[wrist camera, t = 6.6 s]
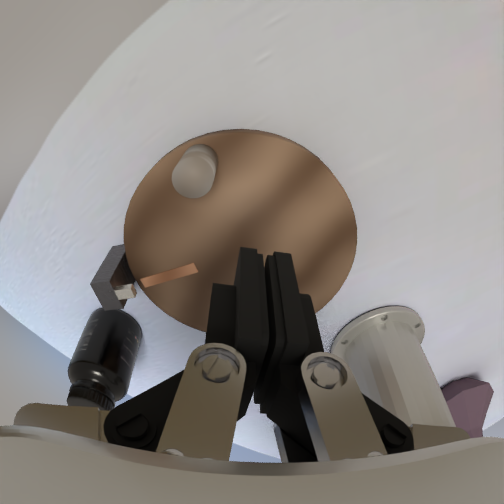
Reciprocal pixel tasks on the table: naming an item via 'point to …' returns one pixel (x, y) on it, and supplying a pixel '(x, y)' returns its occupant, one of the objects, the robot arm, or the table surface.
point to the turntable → (236, 220)
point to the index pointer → (114, 280)
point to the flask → (468, 404)
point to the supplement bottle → (104, 360)
